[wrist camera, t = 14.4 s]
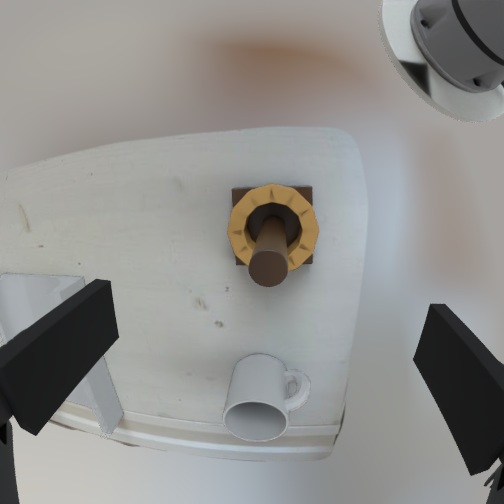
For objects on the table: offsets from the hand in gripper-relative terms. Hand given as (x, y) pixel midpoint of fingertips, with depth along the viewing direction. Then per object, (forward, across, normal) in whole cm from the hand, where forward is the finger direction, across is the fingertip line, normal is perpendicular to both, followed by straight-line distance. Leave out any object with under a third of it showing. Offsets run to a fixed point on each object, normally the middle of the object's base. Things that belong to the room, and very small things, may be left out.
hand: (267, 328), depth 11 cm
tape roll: (+20, 0, 0) cm, 20 cm away
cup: (+22, 0, -19) cm, 29 cm away
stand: (+22, 0, 0) cm, 22 cm away
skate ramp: (+22, -36, -22) cm, 47 cm away
